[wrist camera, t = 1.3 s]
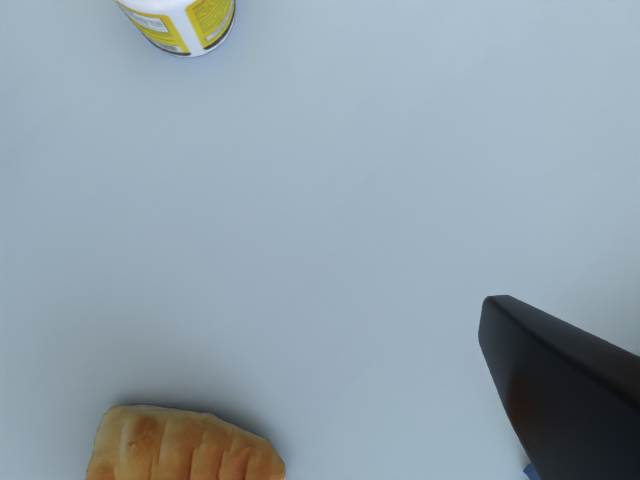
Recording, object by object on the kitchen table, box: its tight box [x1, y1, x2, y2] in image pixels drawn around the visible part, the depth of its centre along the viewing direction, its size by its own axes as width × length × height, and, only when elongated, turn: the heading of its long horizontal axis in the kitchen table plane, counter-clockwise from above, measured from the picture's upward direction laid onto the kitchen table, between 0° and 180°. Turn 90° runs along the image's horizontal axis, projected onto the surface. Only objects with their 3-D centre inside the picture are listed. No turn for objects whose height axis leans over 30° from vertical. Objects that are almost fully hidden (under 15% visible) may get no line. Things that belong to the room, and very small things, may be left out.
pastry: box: [86, 404, 285, 480], centre depth 23 cm, size 9×7×4 cm
